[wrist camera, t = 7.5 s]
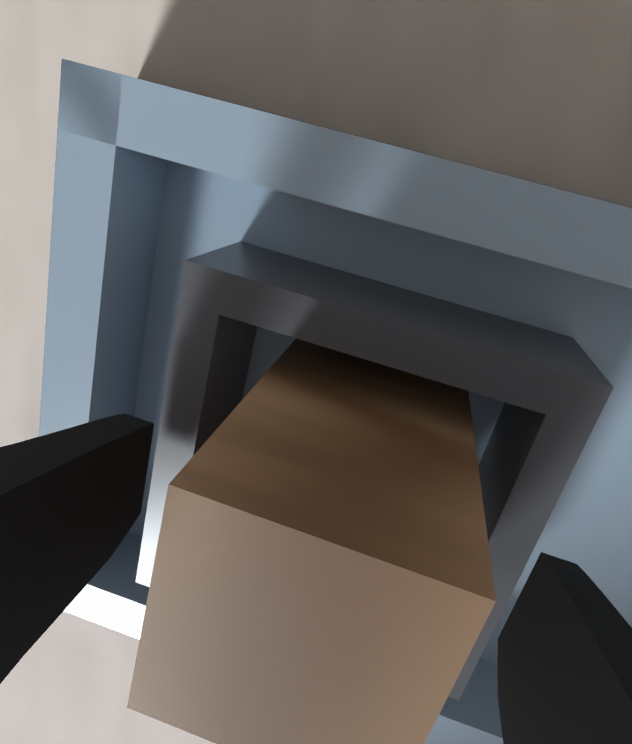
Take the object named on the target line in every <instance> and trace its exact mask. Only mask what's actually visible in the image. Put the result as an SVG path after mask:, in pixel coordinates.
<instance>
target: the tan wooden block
mask: <svg viewBox="0 0 632 744" xmlns="http://www.w3.org/2000/svg"><path fill="white" fill-rule="evenodd" d="M495 602H496V597H495V590H494V582H493V574H492V567H491V559H490V552H489V544H488V536H487V529H486V521H485V514H484V506H483V498H482V491H481V483H480V476H479V468H478V461H477V453H476V445H475V438H474V430H473V423H472V415H471V407H470V400H469V392H468V391H467V390H463V389H460V388H457V387H454V386H450V385H447V384H444V383H441V382H437V381H434V380H431V379H428V378H424V377H421V376H418V375H414V374H411V373H408V372H405V371H401V370H398V369H395V368H392V367H388V366H385V365H382V364H379V363H375V362H372V361H369V360H365V359H362V358H359V357H356V356H352V355H349V354H346V353H343V352H339V351H336V350H333V349H329V348H326V347H323V346H320V345H316V344H313V343H310V342H307V341H303V340H300V339H297V338H296V339H295V340H294V341H293V342H292V343H291V345H290V346H289V347H288V348H287V349H286V350H285V351H284V353H283V354H282V355H281V356H280V357H279V358H278V360H277V361H276V362H275V363H274V364H273V365H272V366H271V368H270V369H269V370H268V371H267V372H266V373H265V374H264V376H263V377H262V378H261V379H260V380H259V381H258V382H257V384H256V385H255V386H254V387H253V388H252V389H251V390H250V392H249V393H248V394H247V395H246V396H245V397H244V398H243V400H242V401H241V402H240V403H239V404H238V405H237V406H236V408H235V409H234V410H233V411H232V412H231V413H230V414H229V416H228V417H227V418H226V419H225V420H224V421H223V423H222V424H221V425H220V426H219V427H218V428H217V429H216V431H215V432H214V433H213V434H212V435H211V436H210V437H209V439H208V440H207V441H206V442H205V443H204V444H203V445H202V447H201V448H200V449H199V450H198V451H197V452H196V453H195V455H194V456H193V457H192V458H191V459H190V460H189V461H188V463H187V464H186V465H185V466H184V467H183V468H182V469H181V471H180V472H179V473H178V474H177V475H176V476H175V478H174V479H173V480H172V481H171V482H170V483H169V484H168V490H167V495H166V501H165V506H164V511H163V517H162V522H161V528H160V533H159V538H158V544H157V549H156V555H155V560H154V565H153V571H152V576H151V582H150V587H149V592H148V598H147V603H146V609H145V614H144V619H143V625H142V630H141V636H140V641H139V646H138V652H137V657H136V663H135V668H134V673H133V679H132V684H131V690H130V695H129V700H128V706H127V708H130V709H132V710H135V711H137V712H140V713H142V714H145V715H147V716H149V717H152V718H154V719H157V720H159V721H162V722H164V723H167V724H169V725H172V726H174V727H177V728H179V729H182V730H184V731H187V732H189V733H192V734H194V735H196V736H199V737H201V738H204V739H206V740H209V741H211V742H214V743H216V744H424V743H425V741H426V739H427V737H428V735H429V733H430V731H431V729H432V727H433V725H434V723H435V721H436V719H437V717H438V715H439V714H440V712H441V710H442V708H443V706H444V704H445V702H446V700H447V698H448V696H449V694H450V692H451V690H452V688H453V686H454V684H455V682H456V680H457V678H458V676H459V674H460V672H461V670H462V668H463V666H464V664H465V662H466V660H467V658H468V656H469V654H470V652H471V650H472V648H473V646H474V644H475V642H476V640H477V638H478V636H479V634H480V632H481V630H482V628H483V626H484V624H485V622H486V620H487V618H488V616H489V614H490V612H491V610H492V608H493V606H494V604H495Z"/></svg>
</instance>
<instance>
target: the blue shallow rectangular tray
mask: <svg viewBox="0 0 632 744" xmlns="http://www.w3.org/2000/svg"><path fill="white" fill-rule="evenodd" d="M296 338H297V339H300V340H303V341H307V342H310V343H313V344H316V345H320V346H323V347H326V348H329V349H333V350H336V351H339V352H343V353H346V354H349V355H352V356H356V357H359V358H362V359H365V360H369V361H372V362H375V363H379V364H382V365H385V366H388V367H392V368H395V369H398V370H401V371H405V372H408V373H411V374H414V375H418V376H421V377H424V378H428V379H431V380H434V381H437V382H441V383H444V384H447V385H450V386H454V387H457V388H460V389H463V390H467V391H468V392H469V400H470V407H471V415H472V423H473V430H474V438H475V445H476V453H477V461H478V468H479V476H480V483H481V491H482V498H483V506H484V514H485V521H486V529H487V536H488V544H489V552H490V559H491V567H492V574H493V582H494V590H495V597H496V602H495V604H494V606H493V608H492V610H491V612H490V614H489V616H488V618H487V620H486V622H485V624H484V626H483V628H482V630H481V632H480V634H479V636H478V638H477V640H476V642H475V644H474V646H473V648H472V650H471V652H470V654H469V656H468V658H467V660H466V662H465V664H464V666H463V668H462V670H461V672H460V674H459V676H458V678H457V680H456V682H455V684H454V686H453V688H452V690H451V692H450V694H449V696H448V698H447V700H446V702H445V704H444V706H443V708H442V710H441V712H440V714H439V715H438V717H437V719H436V721H435V723H434V725H433V727H432V729H431V731H430V733H429V735H428V737H427V739H426V741H425V743H424V744H503V737H502V729H501V721H500V713H499V704H498V679H497V661H498V637H499V635H500V633H501V631H502V629H503V627H504V625H505V623H506V621H507V619H508V617H509V615H510V613H511V611H512V609H513V607H514V605H515V603H516V601H517V599H518V597H519V595H520V593H521V591H522V589H523V587H524V585H525V583H526V581H527V579H528V577H529V575H530V573H531V571H532V569H533V567H534V565H535V563H536V561H537V559H538V557H539V555H540V553H541V552H543V553H546V554H549V555H552V556H555V557H558V558H561V559H564V560H567V561H570V562H573V563H576V564H577V565H578V566H579V567H580V568H581V569H582V570H583V571H584V572H585V573H586V574H587V575H588V576H589V577H590V578H591V580H592V581H593V582H594V583H595V584H596V585H597V587H598V588H599V589H600V590H601V591H602V592H603V594H604V595H605V596H606V597H607V598H608V600H609V601H610V602H611V603H612V604H613V606H614V607H615V608H616V609H617V611H618V612H619V613H620V614H621V615H622V617H623V618H624V619H625V620H626V621H627V623H628V624H629V625H630V626H631V627H632V208H630V207H626V206H622V205H618V204H614V203H611V202H607V201H603V200H599V199H595V198H591V197H588V196H584V195H580V194H576V193H572V192H569V191H565V190H561V189H557V188H553V187H549V186H546V185H542V184H538V183H534V182H530V181H527V180H523V179H519V178H515V177H511V176H507V175H504V174H500V173H496V172H492V171H488V170H485V169H481V168H477V167H473V166H469V165H465V164H462V163H458V162H454V161H450V160H446V159H443V158H439V157H435V156H431V155H427V154H424V153H420V152H416V151H412V150H408V149H404V148H401V147H397V146H393V145H389V144H385V143H382V142H378V141H374V140H370V139H366V138H362V137H359V136H355V135H351V134H347V133H343V132H340V131H336V130H332V129H328V128H324V127H320V126H317V125H313V124H309V123H305V122H301V121H298V120H294V119H290V118H286V117H282V116H279V115H275V114H271V113H267V112H263V111H259V110H256V109H252V108H248V107H244V106H240V105H237V104H233V103H229V102H225V101H221V100H217V99H214V98H210V97H206V96H202V95H198V94H195V93H191V92H187V91H183V90H179V89H175V88H172V87H168V86H164V85H160V84H156V83H153V82H149V81H145V80H141V79H137V78H133V77H130V76H126V75H122V74H118V73H114V72H111V71H107V70H103V69H99V68H95V67H92V66H88V65H84V64H80V63H76V62H72V61H69V60H65V59H62V64H61V81H60V97H59V114H58V130H57V147H56V163H55V180H54V196H53V213H52V229H51V245H50V262H49V278H48V295H47V311H46V328H45V344H44V361H43V377H42V394H41V410H40V427H39V437H40V436H43V435H47V434H50V433H54V432H57V431H61V430H64V429H68V428H71V427H74V426H78V425H81V424H85V423H88V422H91V421H95V420H99V419H102V418H106V417H110V416H114V415H119V414H124V413H125V414H128V415H131V416H134V417H137V418H140V419H143V420H146V421H149V422H152V423H154V429H153V435H152V442H151V449H150V455H149V462H148V469H147V475H146V482H145V489H144V495H143V502H142V509H141V513H140V515H139V516H138V518H137V519H136V521H135V522H134V524H133V525H132V527H131V528H130V530H129V532H128V533H127V535H126V536H125V538H124V539H123V540H122V542H121V543H120V545H119V546H118V548H117V549H116V550H115V552H114V553H113V555H112V556H111V557H110V559H109V560H108V561H107V562H106V563H105V564H104V566H103V567H102V568H101V569H100V570H99V571H98V572H97V574H96V575H95V576H94V577H93V578H92V579H91V580H90V582H89V583H88V584H87V585H86V586H85V587H84V588H83V589H82V591H81V592H80V593H79V594H78V595H77V596H76V597H75V598H74V600H73V601H72V602H71V603H70V604H69V605H68V606H67V607H66V609H65V610H64V611H65V612H68V613H70V614H73V615H76V616H78V617H81V618H83V619H86V620H89V621H91V622H94V623H97V624H99V625H102V626H105V627H107V628H110V629H113V630H115V631H118V632H120V633H123V634H126V635H128V636H131V637H134V638H136V639H139V640H140V636H141V630H142V625H143V619H144V614H145V609H146V603H147V598H148V592H149V587H150V582H151V576H152V571H153V565H154V560H155V555H156V549H157V544H158V538H159V533H160V528H161V522H162V517H163V511H164V506H165V501H166V495H167V490H168V484H169V483H170V482H171V481H172V480H173V479H174V478H175V476H176V475H177V474H178V473H179V472H180V471H181V469H182V468H183V467H184V466H185V465H186V464H187V463H188V461H189V460H190V459H191V458H192V457H193V456H194V455H195V453H196V452H197V451H198V450H199V449H200V448H201V447H202V445H203V444H204V443H205V442H206V441H207V440H208V439H209V437H210V436H211V435H212V434H213V433H214V432H215V431H216V429H217V428H218V427H219V426H220V425H221V424H222V423H223V421H224V420H225V419H226V418H227V417H228V416H229V414H230V413H231V412H232V411H233V410H234V409H235V408H236V406H237V405H238V404H239V403H240V402H241V401H242V400H243V398H244V397H245V396H246V395H247V394H248V393H249V392H250V390H251V389H252V388H253V387H254V386H255V385H256V384H257V382H258V381H259V380H260V379H261V378H262V377H263V376H264V374H265V373H266V372H267V371H268V370H269V369H270V368H271V366H272V365H273V364H274V363H275V362H276V361H277V360H278V358H279V357H280V356H281V355H282V354H283V353H284V351H285V350H286V349H287V348H288V347H289V346H290V345H291V343H292V342H293V341H294V340H295V339H296Z"/></svg>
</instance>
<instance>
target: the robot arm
mask: <svg viewBox="0 0 632 744" xmlns="http://www.w3.org/2000/svg"><path fill="white" fill-rule="evenodd" d="M153 429H154V423H152V422H149V421H146V420H143V419H140V418H137V417H134V416H131V415H128V414H125V413H124V414H119V415H114V416H110V417H106V418H102V419H99V420H95V421H91V422H88V423H85V424H81V425H78V426H74V427H71V428H68V429H64V430H61V431H57V432H54V433H50V434H47V435H43V436H40V437H36V438H33V439H29V440H26V441H23V442H19V443H15V444H11V445H7V446H3V447H0V684H1V682H2V681H3V680H4V679H5V677H6V676H7V675H8V674H9V672H10V671H11V670H12V669H13V668H14V666H15V665H16V664H17V663H18V662H19V660H20V659H21V658H22V657H23V656H24V654H25V653H26V652H27V651H28V650H29V649H30V648H31V647H32V646H33V644H34V643H35V642H36V641H37V640H38V639H39V638H40V637H41V635H42V634H43V633H44V632H45V631H46V630H47V629H48V628H49V626H50V625H51V624H52V623H53V622H54V621H55V620H56V619H57V618H58V616H59V615H60V614H61V613H62V612H63V611H64V610H65V609H66V607H67V606H68V605H69V604H70V603H71V602H72V601H73V600H74V598H75V597H76V596H77V595H78V594H79V593H80V592H81V591H82V589H83V588H84V587H85V586H86V585H87V584H88V583H89V582H90V580H91V579H92V578H93V577H94V576H95V575H96V574H97V572H98V571H99V570H100V569H101V568H102V567H103V566H104V564H105V563H106V562H107V561H108V560H109V559H110V557H111V556H112V555H113V553H114V552H115V550H116V549H117V548H118V546H119V545H120V543H121V542H122V540H123V539H124V538H125V536H126V535H127V533H128V532H129V530H130V528H131V527H132V525H133V524H134V522H135V521H136V519H137V518H138V516H139V515H140V513H141V509H142V502H143V495H144V489H145V482H146V475H147V469H148V462H149V455H150V449H151V442H152V435H153ZM497 679H498V704H499V713H500V721H501V729H502V737H503V744H632V627H631V626H630V625H629V624H628V623H627V621H626V620H625V619H624V618H623V617H622V615H621V614H620V613H619V612H618V611H617V609H616V608H615V607H614V606H613V604H612V603H611V602H610V601H609V600H608V598H607V597H606V596H605V595H604V594H603V592H602V591H601V590H600V589H599V588H598V587H597V585H596V584H595V583H594V582H593V581H592V580H591V578H590V577H589V576H588V575H587V574H586V573H585V572H584V571H583V570H582V569H581V568H580V567H579V566H578V565H577V564H576V563H573V562H570V561H567V560H564V559H561V558H558V557H555V556H552V555H549V554H546V553H543V552H541V553H540V555H539V557H538V559H537V561H536V563H535V565H534V567H533V569H532V571H531V573H530V575H529V577H528V579H527V581H526V583H525V585H524V587H523V589H522V591H521V593H520V595H519V597H518V599H517V601H516V603H515V605H514V607H513V609H512V611H511V613H510V615H509V617H508V619H507V621H506V623H505V625H504V627H503V629H502V631H501V633H500V635H499V637H498V661H497Z"/></svg>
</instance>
